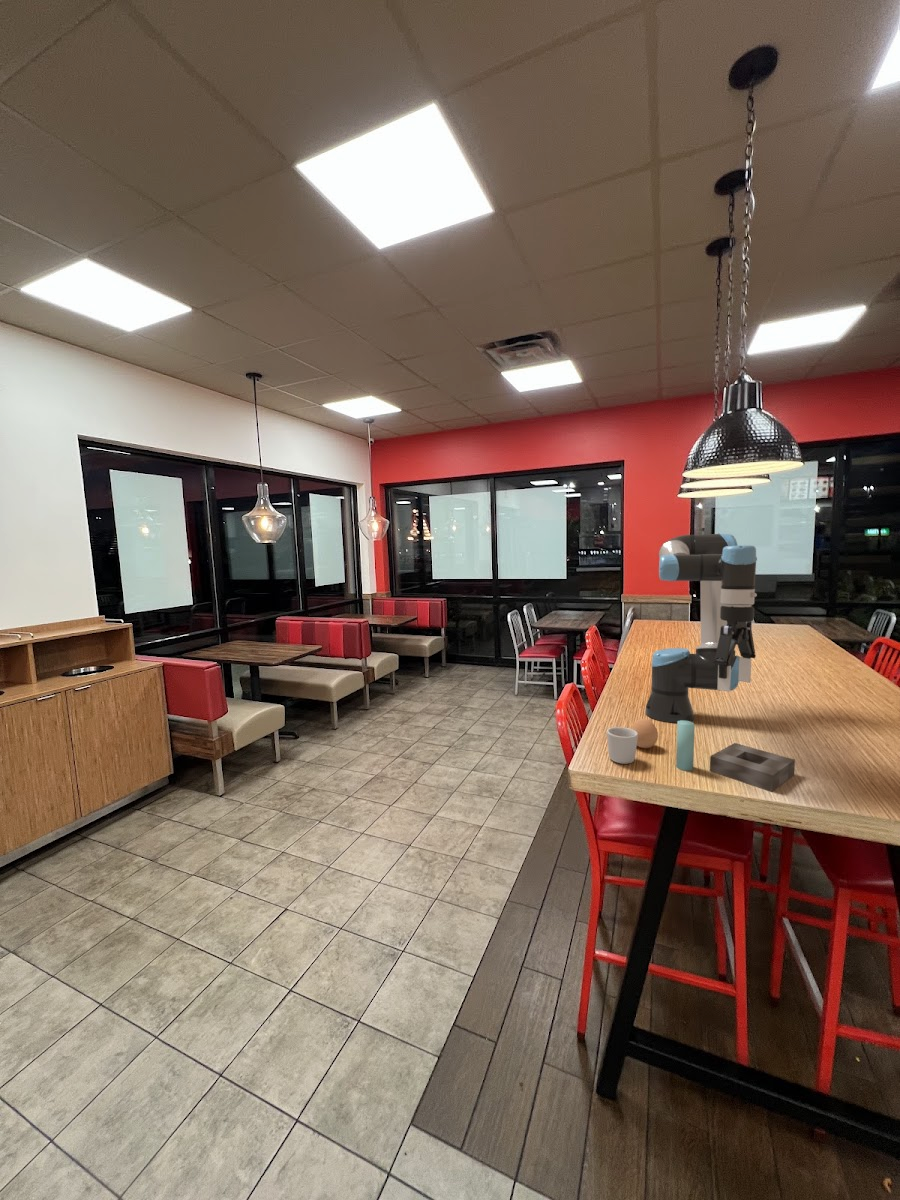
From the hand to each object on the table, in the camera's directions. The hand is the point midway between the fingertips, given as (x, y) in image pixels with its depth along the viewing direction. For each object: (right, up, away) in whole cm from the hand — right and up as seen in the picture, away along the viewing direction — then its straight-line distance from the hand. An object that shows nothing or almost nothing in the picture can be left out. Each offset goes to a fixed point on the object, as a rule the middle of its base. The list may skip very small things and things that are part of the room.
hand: (734, 686), depth 124 cm
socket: (+2, -21, -4) cm, 22 cm away
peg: (-13, -21, 0) cm, 25 cm away
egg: (-18, -21, +13) cm, 31 cm away
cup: (-28, -21, +6) cm, 36 cm away
